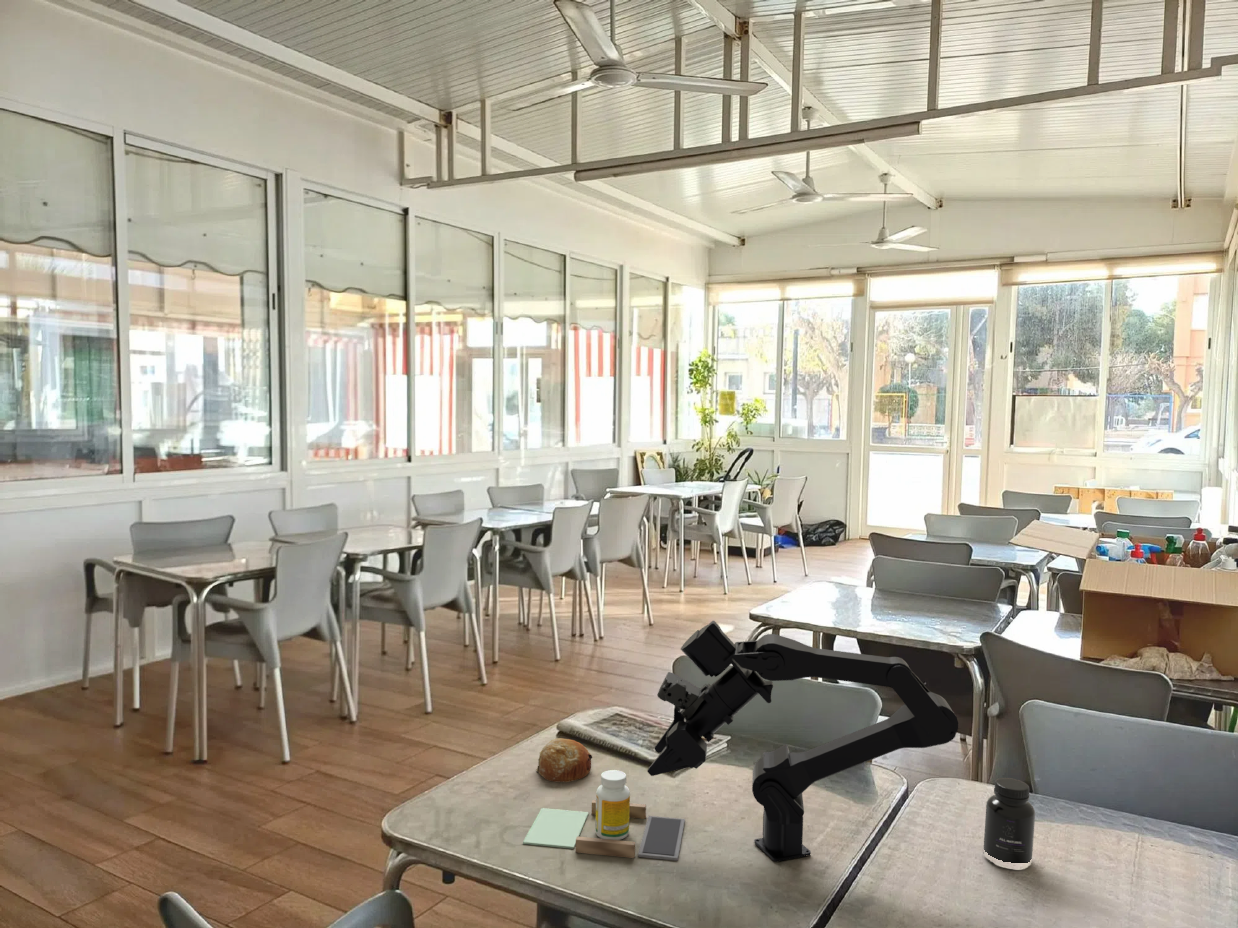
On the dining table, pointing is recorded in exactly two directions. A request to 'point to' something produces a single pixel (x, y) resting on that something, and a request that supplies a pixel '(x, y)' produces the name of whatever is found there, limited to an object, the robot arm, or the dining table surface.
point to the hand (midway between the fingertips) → (652, 761)
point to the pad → (556, 828)
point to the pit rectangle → (662, 838)
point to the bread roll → (564, 761)
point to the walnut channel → (608, 845)
